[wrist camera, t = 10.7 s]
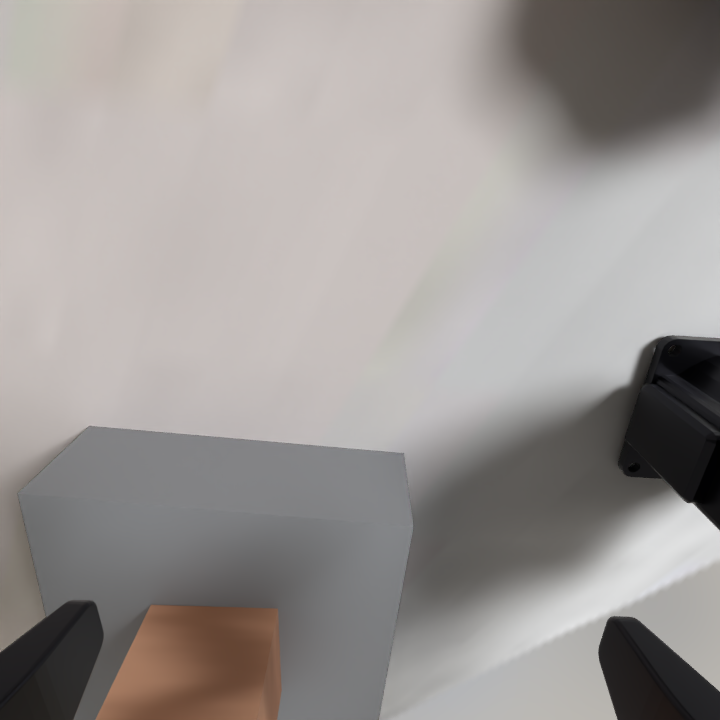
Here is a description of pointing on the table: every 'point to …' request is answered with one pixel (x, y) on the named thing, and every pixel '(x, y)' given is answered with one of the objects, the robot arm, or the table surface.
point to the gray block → (231, 550)
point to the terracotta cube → (200, 666)
